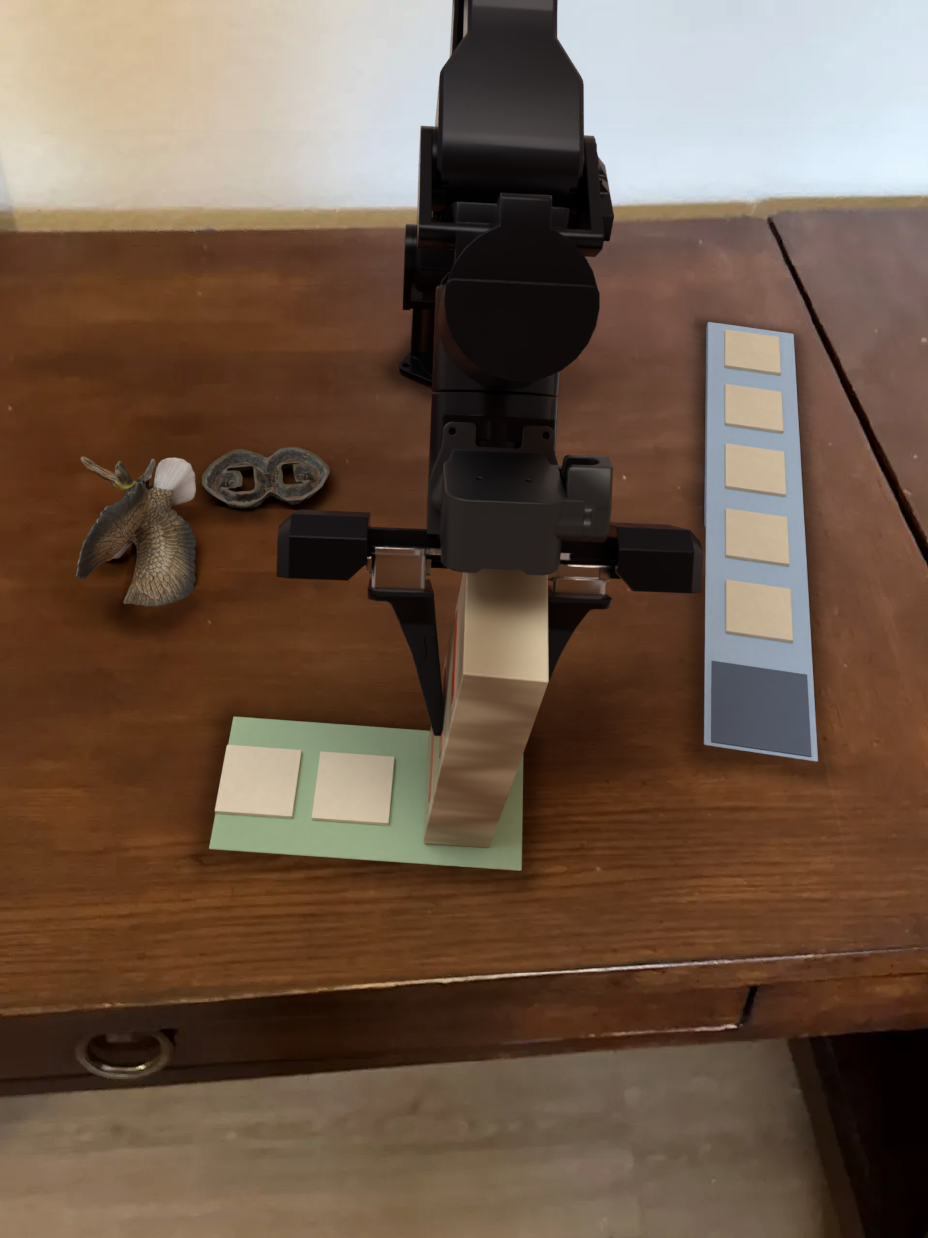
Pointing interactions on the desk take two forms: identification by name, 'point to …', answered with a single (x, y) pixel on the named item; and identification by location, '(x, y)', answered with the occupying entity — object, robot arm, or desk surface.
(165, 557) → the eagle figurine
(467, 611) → the red striped wooden block
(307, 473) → the corroded twin loop
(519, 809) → the left mat
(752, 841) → the desk surface
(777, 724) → the right mat
